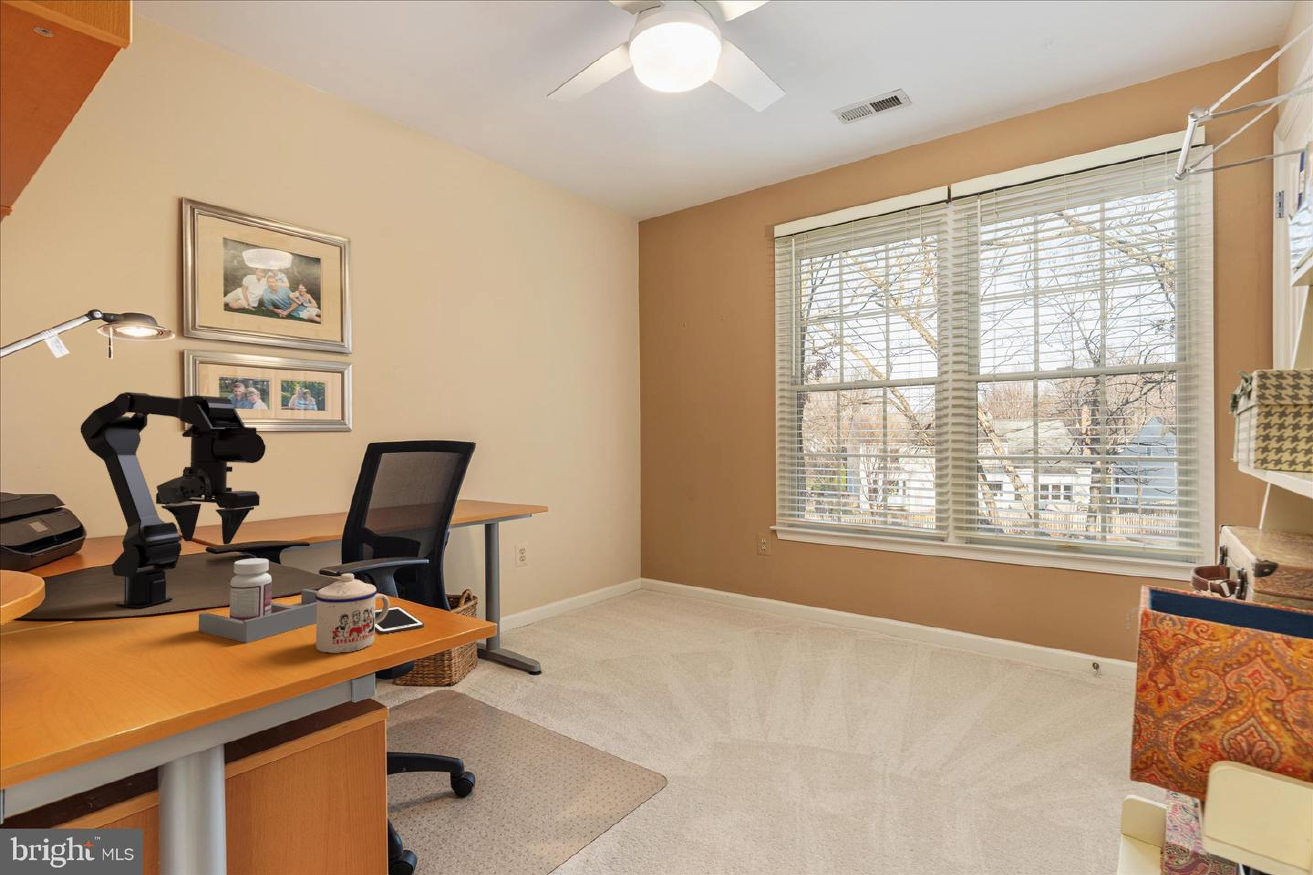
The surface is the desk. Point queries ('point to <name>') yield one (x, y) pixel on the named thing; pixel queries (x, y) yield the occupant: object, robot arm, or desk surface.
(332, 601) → the teacup with lid
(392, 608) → the cell phone
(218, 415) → the robot arm
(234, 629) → the tray
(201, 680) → the desk surface
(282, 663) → the desk surface
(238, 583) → the pill bottle
